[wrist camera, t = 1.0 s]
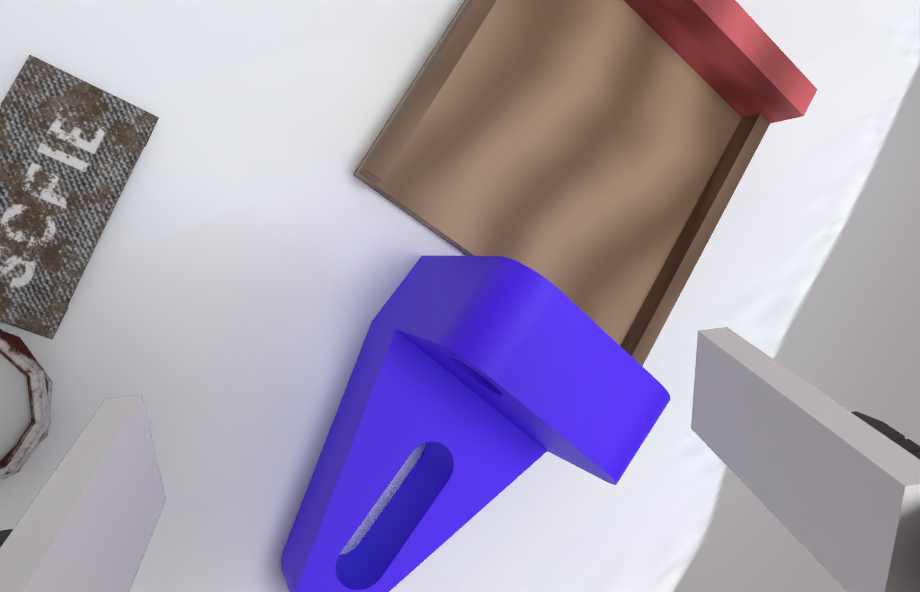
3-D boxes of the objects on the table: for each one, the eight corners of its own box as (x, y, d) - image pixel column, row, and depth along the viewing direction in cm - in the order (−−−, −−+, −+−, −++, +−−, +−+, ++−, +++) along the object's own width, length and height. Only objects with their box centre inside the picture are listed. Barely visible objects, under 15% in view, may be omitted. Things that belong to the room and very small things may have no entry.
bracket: (421, 255, 38) (523, 256, 27) (552, 369, 41) (688, 410, 30) (207, 535, 34) (225, 666, 23) (372, 632, 38) (454, 784, 27)
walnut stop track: (353, 174, 36) (380, 162, 31) (537, -112, 39) (586, -162, 34) (616, 361, 43) (669, 374, 38) (752, 106, 46) (817, 89, 42)
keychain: (189, 135, 33) (190, 128, 31) (11, 511, 31) (1, 527, 29) (14, 50, 30) (4, 37, 28) (-195, 460, 28) (-221, 474, 26)
